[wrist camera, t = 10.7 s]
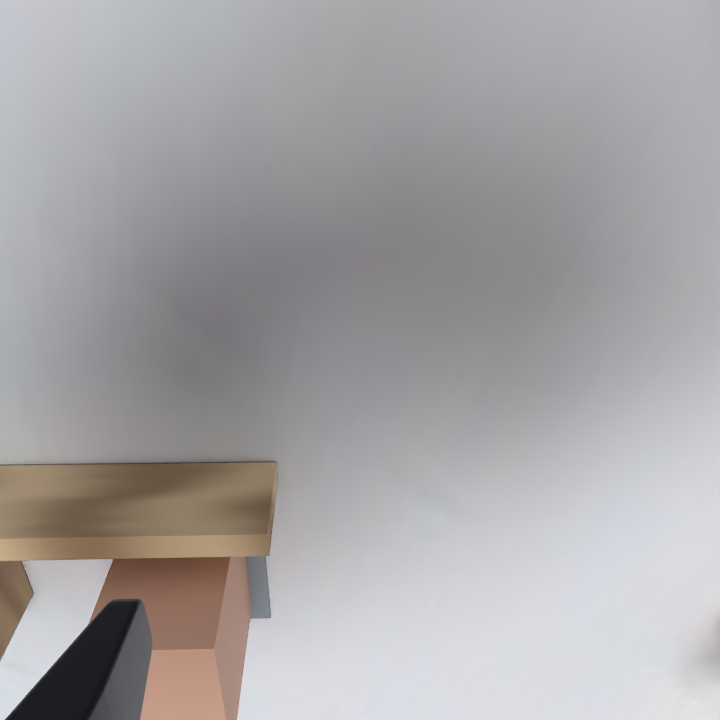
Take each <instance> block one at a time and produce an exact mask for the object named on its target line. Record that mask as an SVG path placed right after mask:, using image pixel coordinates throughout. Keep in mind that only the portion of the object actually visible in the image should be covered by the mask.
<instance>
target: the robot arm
mask: <svg viewBox="0 0 720 720" xmlns="http://www.w3.org/2000/svg"><path fill="white" fill-rule="evenodd" d="M151 653H152V633H151V629H150V625H149V621H148V617H147V613H146V609H145V606H144V603H143V602H142V600H140V599H114V600H112V601H110V602H109V603H107V604H106V605H105V607H104V608H103V609H102V610H101V611H100V612H99V613H98V614H97V616H96V617H95V618H94V619H93V620H92V621H91V622H90V624H89V625H88V626H87V627H86V628H85V629H84V630H83V632H82V633H81V634H80V635H79V636H78V637H77V638H76V640H75V641H74V642H73V643H72V644H71V645H70V646H69V647H68V649H67V650H66V651H65V652H64V653H63V654H62V655H61V657H60V658H59V659H58V660H57V661H56V662H55V663H54V665H53V666H52V667H51V668H50V669H49V670H48V671H47V673H46V674H45V675H44V676H43V677H42V678H41V679H40V680H39V682H38V683H37V684H36V685H35V686H34V687H33V688H32V690H31V691H30V692H29V693H28V694H27V695H26V696H25V698H24V699H23V700H22V701H21V702H20V703H19V704H18V706H17V707H16V708H15V709H14V710H13V711H12V712H11V713H10V715H9V716H8V717H7V718H6V719H5V720H140V718H141V712H142V706H143V700H144V694H145V689H146V683H147V677H148V671H149V665H150V659H151Z"/></svg>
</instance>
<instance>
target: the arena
mask: <svg viewBox="0 0 720 720" xmlns="http://www.w3.org/2000/svg"><path fill="white" fill-rule="evenodd" d="M276 491H277V470H276V462H246V463H163V464H80V465H0V660H1V658H2V656H3V654H4V652H5V650H6V648H7V646H8V644H9V642H10V640H11V638H12V636H13V634H14V632H15V630H16V628H17V626H18V624H19V622H20V620H21V618H22V616H23V614H24V612H25V610H26V608H27V606H28V604H29V602H30V600H31V598H32V596H33V591H32V589H31V586H30V584H29V581H28V579H27V576H26V573H25V571H24V568H23V566H22V563H21V561H22V560H77V559H132V558H186V557H241V556H246V563H247V572H248V580H249V589H250V598H251V614H250V618H271V614H270V603H269V592H268V581H267V570H266V558H265V556H269V553H270V544H271V535H272V526H273V518H274V509H275V500H276Z"/></svg>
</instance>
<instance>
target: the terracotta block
mask: <svg viewBox="0 0 720 720" xmlns="http://www.w3.org/2000/svg"><path fill="white" fill-rule="evenodd" d="M114 599H140V600H142V602H143V603H144V606H145V609H146V613H147V617H148V621H149V625H150V629H151V633H152V653H151V659H150V665H149V671H148V677H147V683H146V689H145V694H144V700H143V706H142V712H141V718H140V720H237V714H238V706H239V698H240V691H241V683H242V676H243V668H244V660H245V653H246V645H247V637H248V630H249V622H250V614H251V598H250V589H249V580H248V572H247V563H246V556H241V557H186V558H132V559H113V562H112V564H111V567H110V570H109V572H108V575H107V577H106V580H105V583H104V585H103V588H102V590H101V593H100V596H99V598H98V601H97V604H96V606H95V609H94V611H93V614H92V617H91V619H90V622H91V621H92V620H93V619H94V618H95V617H96V616H97V614H98V613H99V612H100V611H101V610H102V609H103V608H104V607H105V605H106V604H107V603H109V602H110V601H112V600H114ZM90 622H89V624H90ZM89 624H88V625H89Z"/></svg>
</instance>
